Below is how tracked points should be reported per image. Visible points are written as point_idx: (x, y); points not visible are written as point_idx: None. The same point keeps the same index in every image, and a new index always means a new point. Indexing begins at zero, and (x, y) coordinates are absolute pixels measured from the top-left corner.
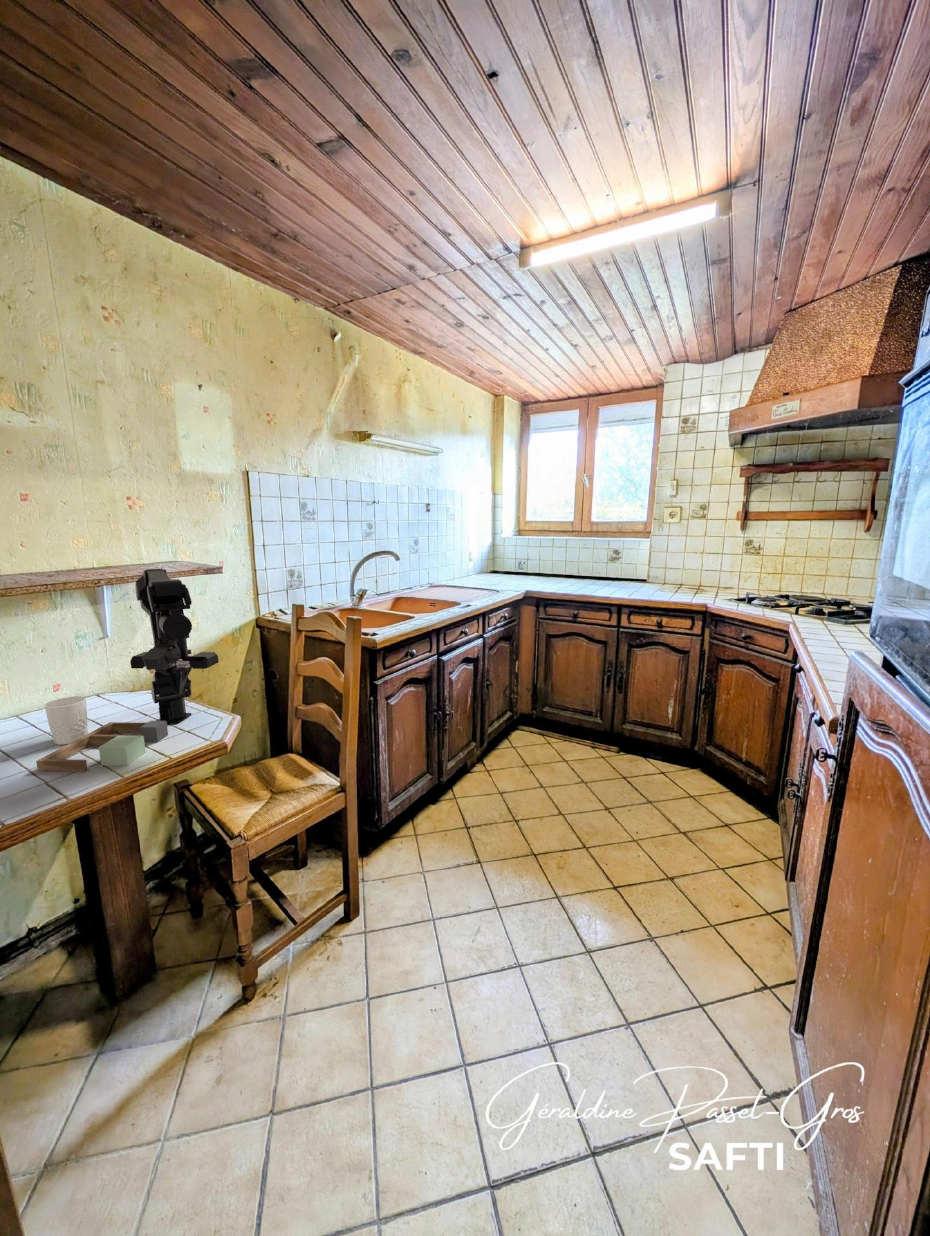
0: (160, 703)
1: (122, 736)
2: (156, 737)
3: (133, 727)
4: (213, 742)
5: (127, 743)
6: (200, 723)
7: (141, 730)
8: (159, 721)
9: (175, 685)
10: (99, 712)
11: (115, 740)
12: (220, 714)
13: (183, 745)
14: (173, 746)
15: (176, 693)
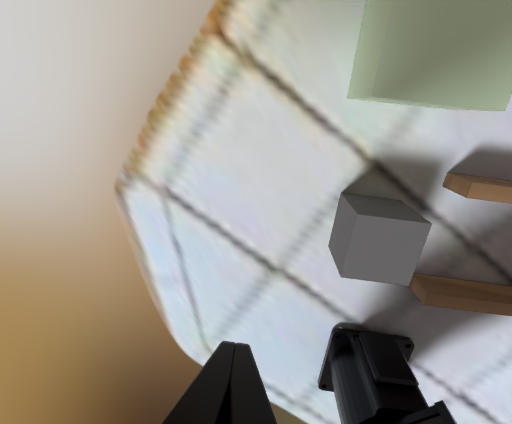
0: (420, 406)
1: (478, 98)
2: (348, 199)
3: (471, 291)
4: (133, 168)
5: None
6: (260, 322)
7: (420, 218)
8: (368, 275)
9: (228, 417)
10: None
11: (500, 44)
12: None
13: (231, 153)
14: (265, 148)
15: (245, 345)
